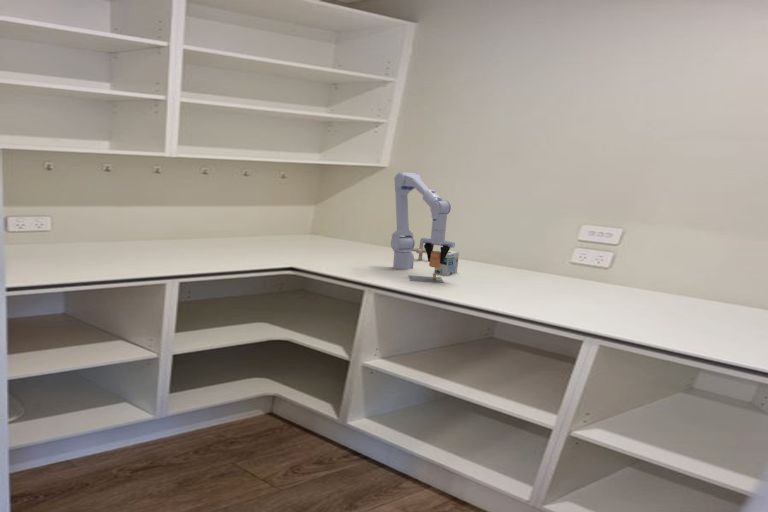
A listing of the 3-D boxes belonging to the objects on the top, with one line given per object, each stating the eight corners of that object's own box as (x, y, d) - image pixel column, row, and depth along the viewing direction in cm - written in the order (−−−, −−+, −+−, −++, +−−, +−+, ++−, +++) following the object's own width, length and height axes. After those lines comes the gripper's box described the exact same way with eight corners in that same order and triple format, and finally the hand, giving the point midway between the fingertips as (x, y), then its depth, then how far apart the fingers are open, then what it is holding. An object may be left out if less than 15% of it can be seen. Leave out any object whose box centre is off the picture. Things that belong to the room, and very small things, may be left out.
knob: (438, 268, 214) (439, 253, 213) (427, 266, 217) (428, 251, 215) (442, 266, 218) (444, 251, 217) (432, 264, 221) (433, 250, 219)
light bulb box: (447, 278, 227) (449, 254, 226) (433, 276, 231) (435, 252, 229) (457, 275, 236) (459, 251, 234) (443, 272, 240) (446, 249, 238)
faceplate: (409, 283, 213) (410, 275, 213) (408, 278, 223) (408, 270, 223) (443, 285, 214) (444, 277, 213) (440, 280, 224) (441, 272, 223)
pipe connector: (407, 260, 263) (409, 240, 261) (414, 257, 272) (415, 238, 270) (426, 263, 259) (428, 243, 257) (432, 259, 268) (434, 240, 266)
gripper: (418, 228, 214) (415, 261, 217) (451, 233, 208) (448, 266, 210) (425, 227, 221) (422, 258, 223) (457, 231, 214) (454, 263, 217)
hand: (435, 262), depth 217 cm, fingers closed on knob, 5 cm apart
